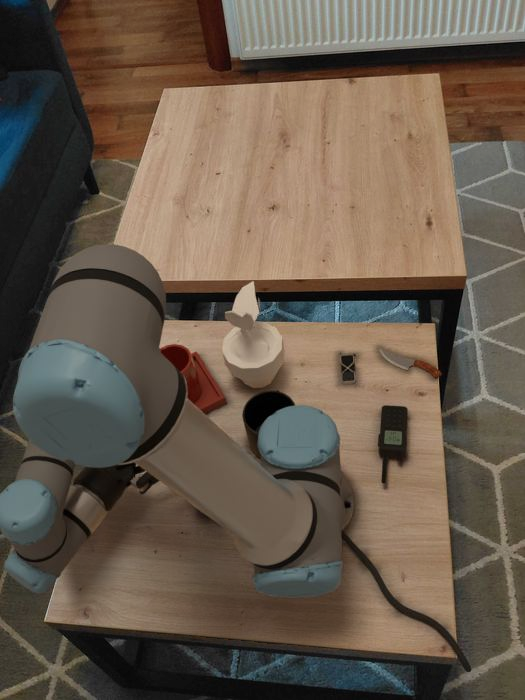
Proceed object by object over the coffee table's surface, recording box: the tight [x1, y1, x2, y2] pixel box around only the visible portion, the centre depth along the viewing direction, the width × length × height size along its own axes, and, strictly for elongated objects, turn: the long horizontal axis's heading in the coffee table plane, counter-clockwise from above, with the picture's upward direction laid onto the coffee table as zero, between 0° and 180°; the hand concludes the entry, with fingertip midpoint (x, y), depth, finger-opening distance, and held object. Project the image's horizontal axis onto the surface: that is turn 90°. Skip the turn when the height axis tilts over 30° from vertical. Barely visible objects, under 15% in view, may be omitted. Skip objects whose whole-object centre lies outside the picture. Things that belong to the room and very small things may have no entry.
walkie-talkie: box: [377, 404, 409, 485], centre depth 113 cm, size 5×3×15 cm
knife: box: [379, 348, 443, 379], centre depth 126 cm, size 13×1×3 cm
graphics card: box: [339, 352, 357, 385], centre depth 126 cm, size 7×1×3 cm
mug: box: [241, 389, 296, 459], centre depth 116 cm, size 9×12×9 cm
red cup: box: [159, 343, 202, 404], centre depth 124 cm, size 8×8×10 cm
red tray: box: [191, 351, 228, 415], centre depth 127 cm, size 14×13×2 cm
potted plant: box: [221, 280, 285, 389], centre depth 119 cm, size 13×12×25 cm
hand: (167, 402), depth 115 cm, fingers open, 13 cm apart
